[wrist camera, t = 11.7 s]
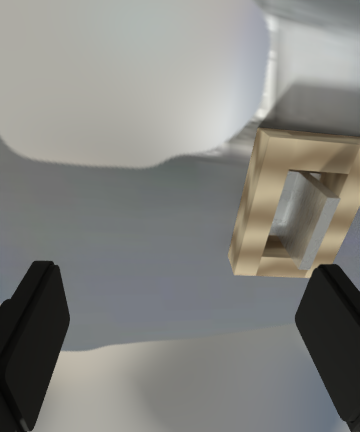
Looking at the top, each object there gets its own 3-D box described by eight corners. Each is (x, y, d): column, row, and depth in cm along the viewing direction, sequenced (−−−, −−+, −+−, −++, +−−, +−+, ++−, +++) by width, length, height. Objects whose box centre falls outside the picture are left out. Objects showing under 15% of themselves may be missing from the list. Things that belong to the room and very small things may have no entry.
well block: (257, 127, 35) (269, 136, 31) (363, 137, 36) (387, 147, 32) (227, 255, 45) (234, 274, 41) (311, 259, 46) (325, 278, 42)
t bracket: (282, 168, 37) (312, 196, 30) (318, 171, 38) (355, 199, 30) (263, 231, 42) (284, 268, 35) (295, 233, 43) (322, 270, 35)
